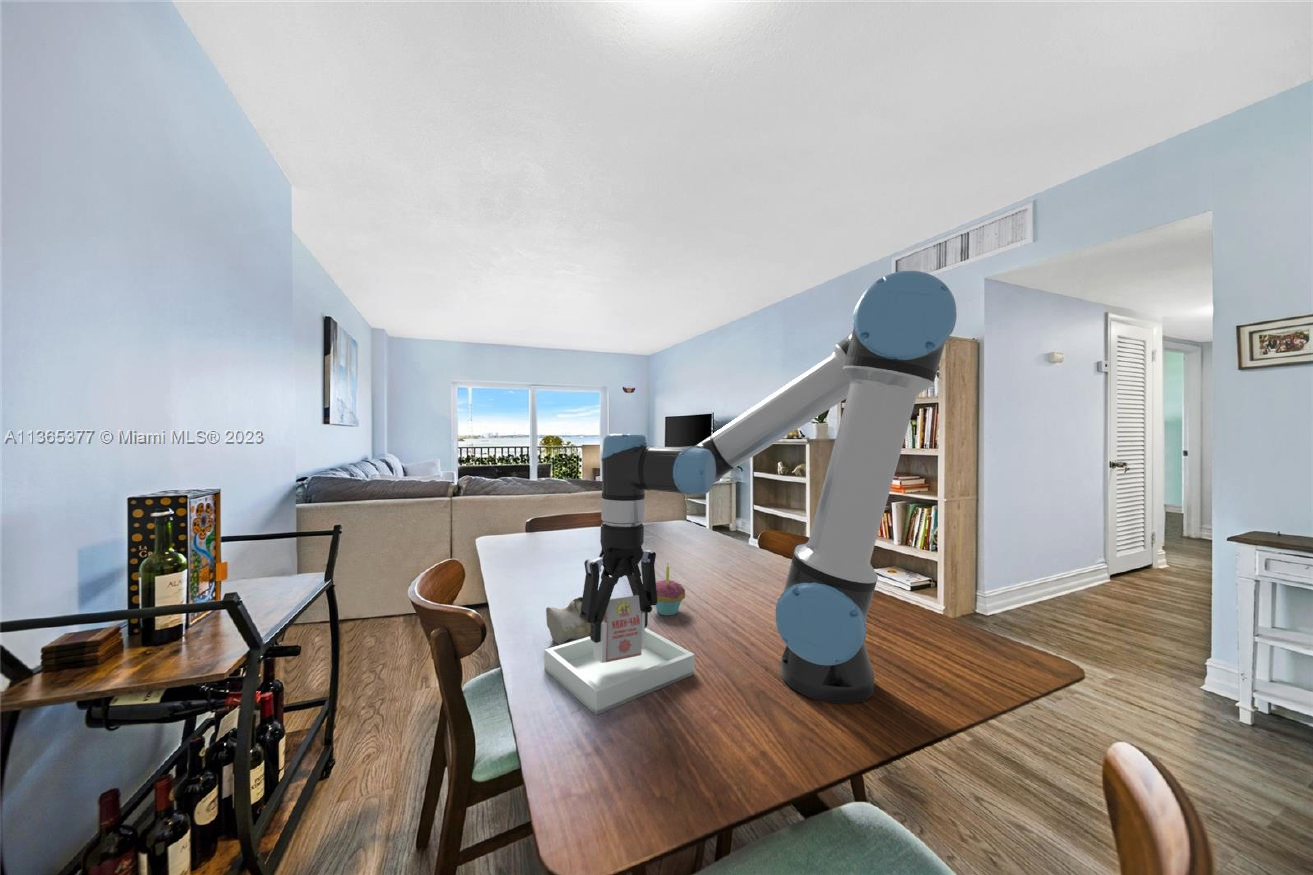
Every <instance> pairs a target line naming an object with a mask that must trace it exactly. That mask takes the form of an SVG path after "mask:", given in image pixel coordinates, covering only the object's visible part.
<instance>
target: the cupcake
mask: <svg viewBox="0 0 1313 875" xmlns="http://www.w3.org/2000/svg"><path fill="white" fill-rule="evenodd" d="M665 571H666V572H665V579H663V580H659V581H656V590H657V604H656V605H655V607H656V612H657V613H658V614H659V615H662V616H674V615H676V614H677V613H678V611H679V610H680V605H681V602H682V600H684V599H685V598H686V589H685V587H684V586H683V585H682V584H680V583H678V582H676V581H674V580H671V579H670V565H669V563H668V562H667V565H666V570H665Z"/></svg>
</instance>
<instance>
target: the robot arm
mask: <svg viewBox="0 0 1313 875" xmlns="http://www.w3.org/2000/svg"><path fill="white" fill-rule="evenodd" d="M956 304H957V303H956V299H955V297H954V295H953V293H952V291H951V290H950V288H949V287H948V285H946V284H945V282H943V281H942V280H941V279H940V278H938V277H936V276H934V274H930V273H927V272H923V271H919V270H902V271H895V272H892V273H889V274H887V275H885V276H882V277H881V278H879V279H878V280H876V281H874V282H873V283H872V284H871V285H869V286H868V288H867V289H866V290H864V292H863V294H862V295H861V297H860V298H859V299H858V301H857V303H856V305H855V307H854V311H853V316H852V320H853V323H852V326H853V329H852V332H851V333H850V334H849V335H847V336H846V337H845V338H843V339H842V340H841V341H839V342H837V343H836V344H835V345H834V348H833V352H832V353H831V355H829V356H827V357H826V358H824V359H823V360H821V361H820V362H819V363H817V364H816V365H814V366H813V367H811V368H809V369H808V370H806V371H805V372H804V373H802V374H801V375H799V376H797V377H796V378H794V379H793V380H792V381H790V382H789V383H787V384H786V385H784V386H782V387H781V388H780V389H778V390H776V391H775V392H774V393H772V394H771V395H769V396H768V397H766V398H764V399H763V400H761V401H760V402H759V403H757V404H756V405H754V406H753V407H751V408H750V409H748V410H746V412H743V413H742V414H740V415H739V416H738V417H736V418H734V419H733V420H732V421H731V422H729V423H727V424H725V425H724V426H723V427H722V428H720V429H718V430H717V431H716V432H714V433H712V434H711V435H710V436H708V437H707V438H705V439H704V440H702V441H700V442H698V443H697V444H696V445H689V446H653V445H652V446H651V445H648V443H647V437H646V435H644V434H640V433H639V434H635V433H608V434H606V435H605V437H604V438H603V446H602V457H601V469H602V472H601V475H602V477H601V481H602V482H601V507H600V508H601V509H600V510H601V513H600V518H601V520H602V523H601V525H600V537H599V538H600V540H599V541H600V545H601V546H600V547H601V550H600V553H599V556H598V557H597V558H594V559H592V560H591V559H586V560H584V569H585V570H584V571H585V578H584V584H583V590H582V591H583V592H582V597H583V598H582V605H581V612H580V617H581V618H582V619H583V620H585V621H587V622H588V623H591V627H590V638H591V640H592V641H593V642H594V656H593V657H594V658H596V659H597V660H599V661H600V662H601V663H604V662H606V635H607V623H606V622H604V621H603V619H604V616H605V613H606V610H607V607H608V604H609V601H610V599H611V598H612V594H613V592H614V588H615V586H616V585H617V584H618V582H619V579H620V578H623V577H626V578H627V581H628V583H629V584H628V585H629V586H630V590H631V593H632V595H639V603H640V611H641V617H642V649H644V636H645V628H647V627H648V619H649V616H648V615H649V614H650V613H651V612H652V610H653V606H656V604H657V590H656V583H657V580H656V568H655V563H656V557H657V553H656V552H654V551H653V550H650V549H647V548H645V549H643V547H642V546H643V544H644V540H645V539H644V536H645V525H644V524H643V521H644V520H645V512H646V511H645V503H646V502H645V501H646V500H645V499H646V498H645V497H646V495H645V494H646V491H657V492H668V493H677V494H678V493H679V494H685V495H688V496H690V495H705V494H708V493H710V491H711V490H712V487H714V484H715V483H716V482H717V483H718V482H719V481H720V480H721V479H722V478H723V477H724V476H725V475H726V474H728V473H730V472H731V471H733V470H734V469H736V468H737V467H738V466H740V465H741V464H743V463H745V462H746V461H748V460H750V459H751V458H753V457H755V456H756V455H758V454H760V453H761V452H763V451H765V450H766V449H768V448H769V447H771V446H772V445H774V444H776V443H777V442H779V441H781V440H782V439H784V438H785V437H786V436H789V435H790V434H792V433H793V432H795V431H797V430H798V429H800V428H801V427H803V426H804V425H806V424H808V423H809V422H811V421H813V420H814V419H815V418H817V417H819V416H820V415H822V414H823V413H825V412H827V411H829V410H830V409H831V408H833V407H835V406H837V405H838V404H840V403H842V402H843V401H844V400H845V403H844V407H843V411H842V415H841V418H840V421H839V426H838V428H837V433H836V437H835V440H834V444H833V448H832V451H831V456H830V459H829V462H828V466H827V470H826V473H825V478H824V482H823V486H822V489H821V492H820V496H819V500H818V503H817V507H816V511H815V515H814V519H813V523H812V526H811V530H810V534H809V538H808V541H807V542H806V543H804V544H799V545H798V544H797V546H795V549H794V551H793V555H792V558H791V563H790V565H789V570H788V574H787V577H786V580H785V584H784V588H783V592H782V593H781V594H780V596H779V597H778V600H777V601H776V604H775V625H776V629H777V631H778V634H779V635H780V638H781V639H782V641H783V642H784V644H785V648H784V651H783V654H782V657H781V660H780V675H781V678H782V680H783V681H784V682H785V684H787V685H788V686H789V687H790V688H791V689H792V690H794V691H795V692H797V693H799V694H801V695H803V696H806V697H808V698H811V699H813V700H817V701H822V702H826V703H832V704H845V705H846V704H847V705H849V704H856V703H861V702H864V701H866V700H868V699H870V698H871V697H872V696H873V694H874V692H875V674H874V671H873V668H872V667H873V666H872V664H871V661H870V657H869V654H868V650H867V648H866V644H865V640H866V636H867V629H866V628H867V624H866V622H867V617H868V614H869V610H870V607H871V604H872V600H873V596H874V593H875V590H876V585H877V583H878V582H877V581H878V580H879V576H878V574H877V573H876V570H875V569H874V567H873V566H872V564H871V560H872V555H873V553H874V549H875V544H876V542H877V538H878V534H879V530H880V527H881V524H882V520H883V517H884V512H885V510H886V506H887V502H888V499H889V496H890V492H891V488H892V485H893V481H894V479H895V478H894V477H895V474H896V470H897V467H898V465H899V460H900V456H901V454H902V449H903V446H904V442H905V439H906V435H907V432H908V429H909V425H910V423H911V422H910V421H911V418H912V415H913V410H914V409H915V408H914V407H915V403H916V400H917V397H918V396H919V395H920V394H921V393H923V392H924V391H926V390H928V389H930V388H932V387H933V386H934V383H935V379H936V376H937V372H938V369H939V366H940V362H941V359H942V355H943V352H944V349H945V344H946V342H947V341H948V339H950V336H951V335H952V333H953V332H954V330H955V327H956V322H957V315H958V314H957V305H956ZM639 564H640V567H639ZM602 567H603V569H602ZM640 569H641V570H640ZM600 573H601V576H600ZM600 579H601V580H600Z"/></svg>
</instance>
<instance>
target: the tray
mask: <svg viewBox="0 0 1313 875" xmlns="http://www.w3.org/2000/svg"><path fill="white" fill-rule="evenodd" d="M593 656H594V642H593V641H592V640H591V638H590V636H589V637H586V638H583V639H575V640H572V641H569V642H566V643H565V642H564V643H563V644H558V645H556V646H552V647H549V648H545V649H544V669H543V670H545V671H546V673H548V674H549V675H550V676H551V677H552V678H554V679H555V680H556V681H557V682H558V683H559V684H560V685H561V686H563V688H565V689H566V690H567V691H568V692H569V693H571V695H573V696H574V697H575V699H577V700H578V701H579V702H581V704H583V705H584V706H585V707H586V708H588V710H589V711H591V712H592V713H593V714H594V715H595V716H598V715H600V714H603V713H605V712H607V711H610V710H613V709H615V708H617V707H620V706H621V705H624V704H626V703H630V702H632V701H634V700H636V699H639V698H641V697H643V696H646V695H648V694H650V693H654V692H655V691H657V690H660V689H662V688H665V687H667V686H670V685H672V684H675V683H678V682H680V681H682V680H684V679H686V678H688V677H691V676H693V675H695V661H696V660H695V658H696V657H695V656H696V655H695V653H694V652H691V651H689V650H687V649H686V648H684V647H682V646H680V645H678V644H676V643H674V642H673V641H671V640H669V639H667V638H665V637H663V636H662V635H660V634H658V633H656V632H654V631H652V630H650V629H649V628H647V627H646V628H645V636H644V649H642V650H641V655H640V656H635V657H630V658H625V659H621V660H616V661H611V662H606V663H605V662H604V663H601V662H600V661H599V660H597V659H596V658H594V657H593Z"/></svg>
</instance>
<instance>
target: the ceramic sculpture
mask: <svg viewBox="0 0 1313 875" xmlns="http://www.w3.org/2000/svg"><path fill="white" fill-rule="evenodd" d="M582 598H583V596H580V597H578V598H574V599H573V600H571V601H570V602H569V604H568V606H566V607H565V608H557V607H549V606H547V607H546V609H545V613H546V614H545V615H546V616H545V617H546V618H545V619H546V626H547V628H548V629H549V632H550V636H551V639H552V641H553V642H554V643H556V644H558V645H562V644H565V642H567V640H579V639H583V638H586V637H589V636H590V627H591V623H588V622H587V621H585V620H583V619H582V618H581V617H580V612H581V605H582Z"/></svg>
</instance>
